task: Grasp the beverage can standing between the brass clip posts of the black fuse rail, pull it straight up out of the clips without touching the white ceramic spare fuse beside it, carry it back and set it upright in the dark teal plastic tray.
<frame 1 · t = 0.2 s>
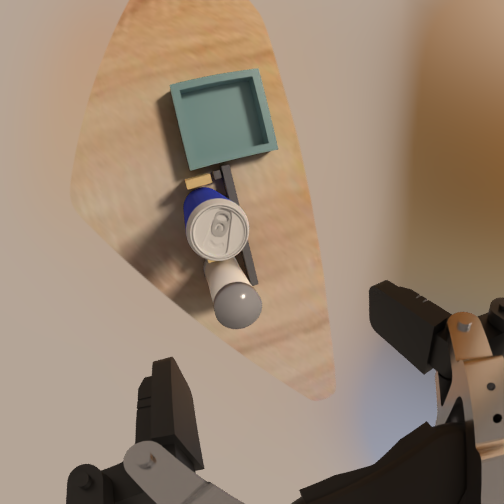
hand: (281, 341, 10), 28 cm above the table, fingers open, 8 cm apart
spare fuse: (220, 266, 39), on the table
fuse block: (203, 206, 36), on the table
beverage can: (203, 206, 36), on the table
tray: (221, 119, 33), on the table
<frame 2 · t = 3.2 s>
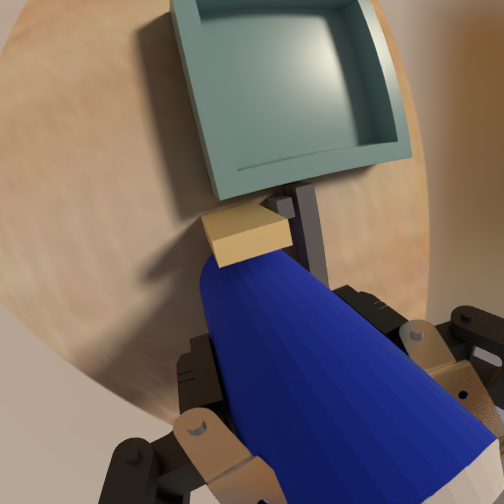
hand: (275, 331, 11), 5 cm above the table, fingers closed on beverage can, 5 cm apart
fuse block: (245, 279, 16), on the table
beverage can: (244, 278, 16), on the table, touching gripper
tray: (289, 76, 13), on the table
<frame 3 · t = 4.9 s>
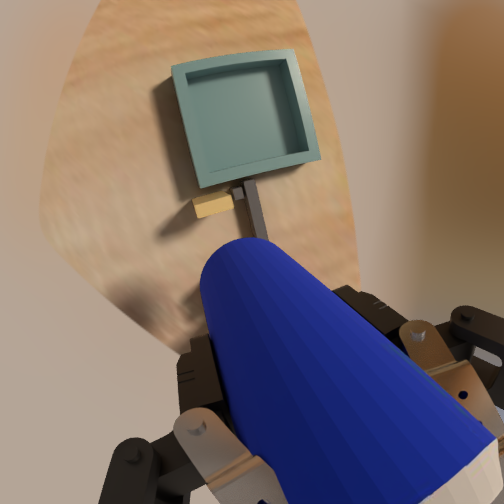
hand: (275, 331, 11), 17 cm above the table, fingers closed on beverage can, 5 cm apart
fuse block: (217, 236, 26), on the table
beverage can: (244, 278, 16), point 11 cm above the table, touching gripper
tray: (242, 115, 24), on the table
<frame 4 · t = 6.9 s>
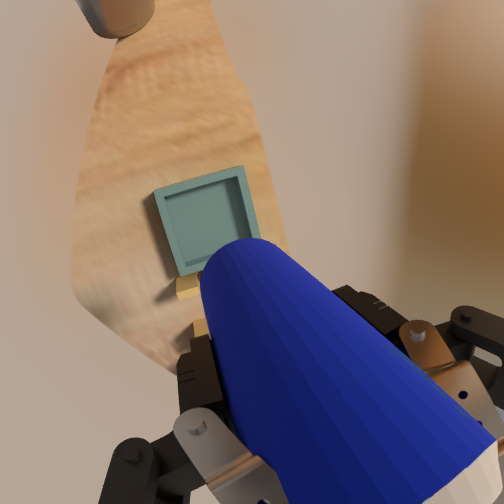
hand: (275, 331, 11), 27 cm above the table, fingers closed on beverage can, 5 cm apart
fuse block: (195, 300, 39), on the table
beverage can: (244, 278, 16), point 21 cm above the table, touching gripper
tray: (208, 218, 36), on the table
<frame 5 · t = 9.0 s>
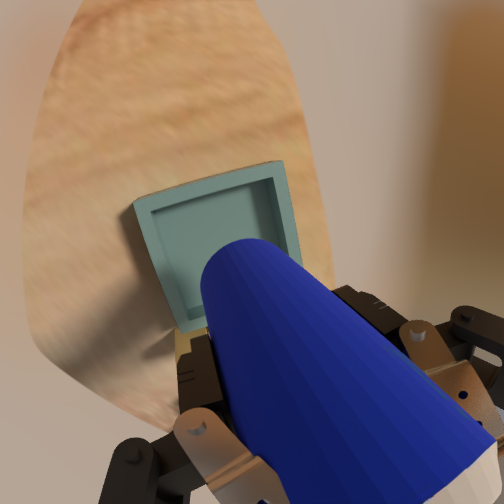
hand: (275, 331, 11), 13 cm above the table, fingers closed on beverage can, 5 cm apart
fuse block: (202, 357, 26), on the table
beverage can: (244, 279, 16), point 8 cm above the table, touching gripper
tray: (222, 242, 23), on the table
when the fingers open (7 cm above the table, at t = 10.6 s): beverage can stays where it is, resting on tray.
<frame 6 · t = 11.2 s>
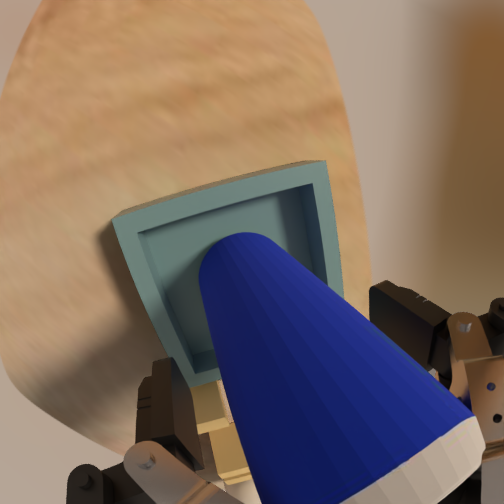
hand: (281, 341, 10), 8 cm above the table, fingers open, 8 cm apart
spare fuse: (239, 451, 23), on the table
fuse block: (211, 405, 20), on the table
beverage can: (240, 271, 17), resting on tray
tray: (238, 270, 17), on the table
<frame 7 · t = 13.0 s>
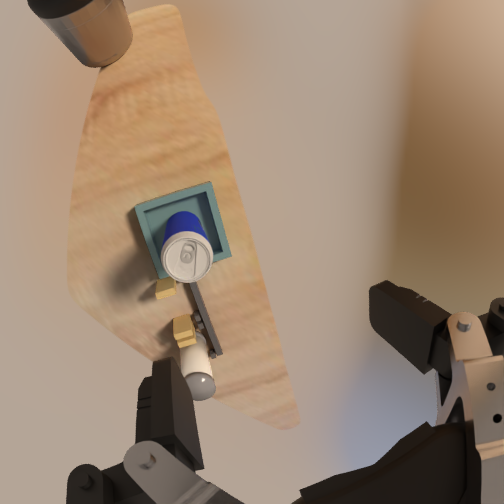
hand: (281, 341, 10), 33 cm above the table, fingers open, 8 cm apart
spare fuse: (192, 341, 46), on the table
fuse block: (174, 300, 43), on the table
beverage can: (183, 227, 40), resting on tray
tray: (183, 228, 41), on the table
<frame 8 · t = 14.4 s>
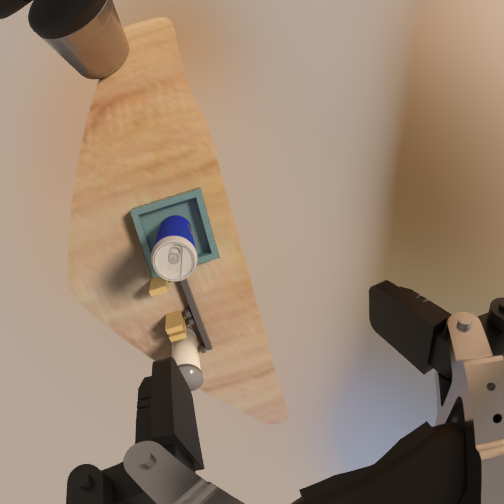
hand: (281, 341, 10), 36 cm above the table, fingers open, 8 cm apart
spare fuse: (183, 336, 49), on the table
fuse block: (167, 297, 46), on the table
beverage can: (175, 230, 43), resting on tray
tray: (175, 230, 44), on the table
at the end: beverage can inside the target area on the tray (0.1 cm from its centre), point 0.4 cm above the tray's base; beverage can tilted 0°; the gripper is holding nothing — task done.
